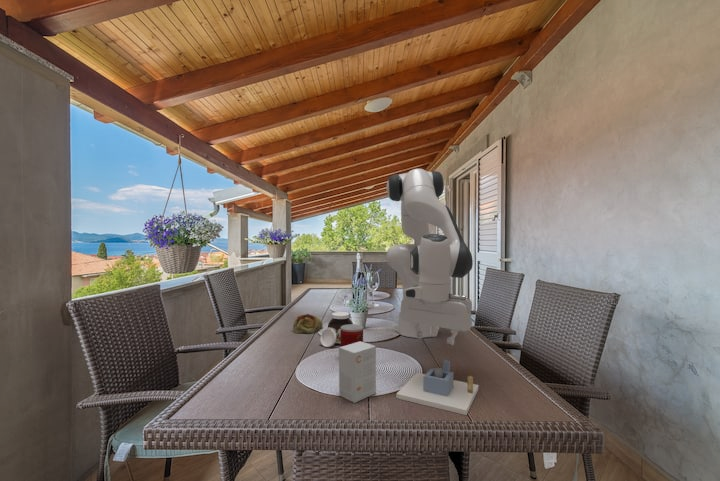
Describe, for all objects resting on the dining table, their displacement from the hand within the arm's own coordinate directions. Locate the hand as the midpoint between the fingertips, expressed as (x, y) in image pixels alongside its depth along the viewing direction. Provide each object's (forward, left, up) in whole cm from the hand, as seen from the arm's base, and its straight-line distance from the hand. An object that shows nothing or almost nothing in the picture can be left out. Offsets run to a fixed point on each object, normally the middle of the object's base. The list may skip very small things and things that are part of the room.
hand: (434, 341), depth 98 cm
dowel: (+1, +10, -12) cm, 16 cm away
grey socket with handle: (0, +2, -12) cm, 12 cm away
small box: (+14, -17, -13) cm, 26 cm away
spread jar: (-20, -45, -13) cm, 51 cm away
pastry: (-30, -67, -13) cm, 75 cm away
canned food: (-9, -32, -13) cm, 36 cm away
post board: (+3, +2, -13) cm, 14 cm away
